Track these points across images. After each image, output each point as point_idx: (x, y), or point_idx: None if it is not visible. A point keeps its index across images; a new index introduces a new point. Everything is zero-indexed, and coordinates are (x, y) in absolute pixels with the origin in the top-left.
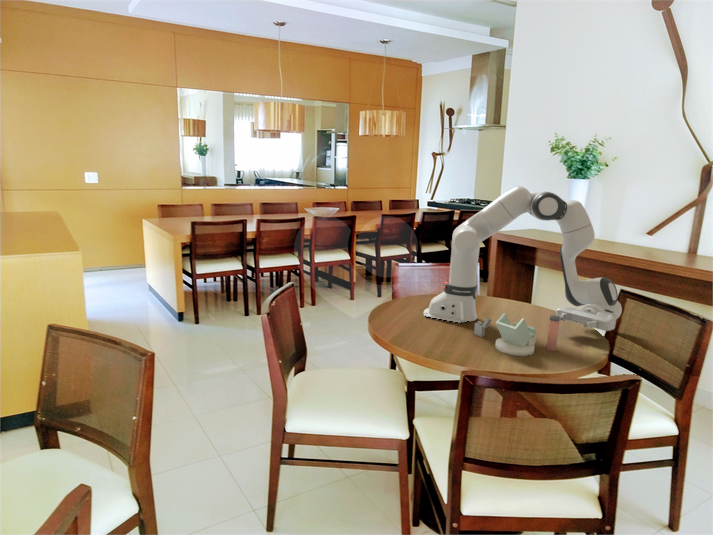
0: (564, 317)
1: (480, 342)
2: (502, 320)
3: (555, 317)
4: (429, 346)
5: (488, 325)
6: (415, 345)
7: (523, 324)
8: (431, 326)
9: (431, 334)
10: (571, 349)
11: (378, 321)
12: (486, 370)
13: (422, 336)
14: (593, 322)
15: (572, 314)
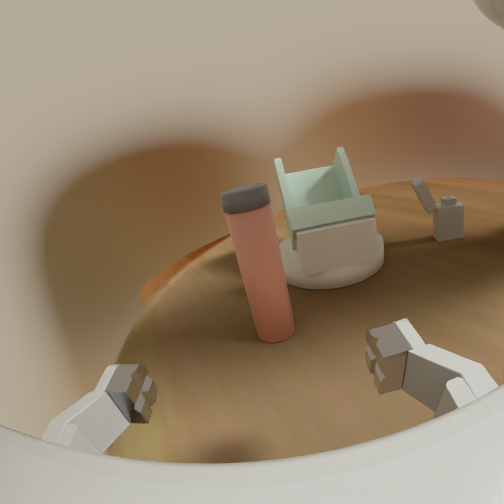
0: (378, 353)
1: (394, 230)
2: (336, 166)
3: (234, 189)
4: (384, 195)
5: (424, 204)
6: (391, 189)
7: (277, 175)
8: (491, 203)
9: None
10: (224, 392)
11: (495, 180)
12: None
13: (432, 194)
14: (73, 405)
15: (386, 442)
